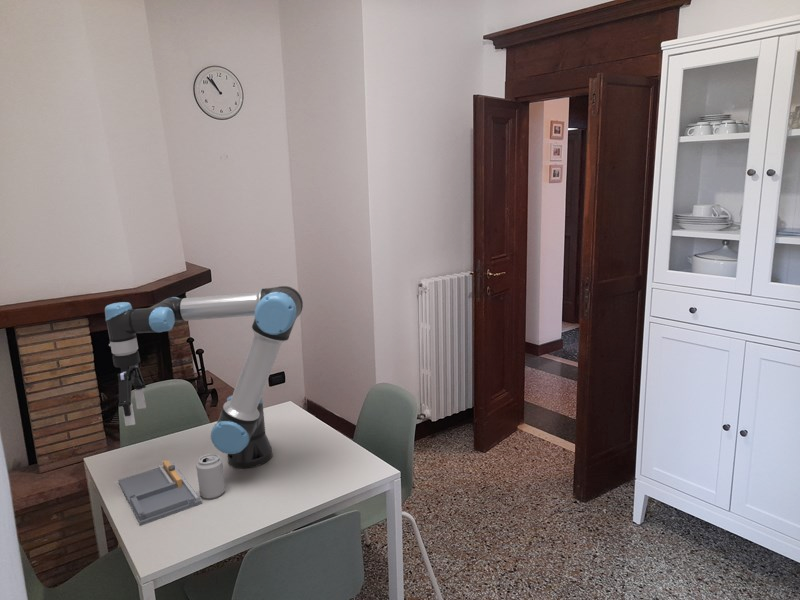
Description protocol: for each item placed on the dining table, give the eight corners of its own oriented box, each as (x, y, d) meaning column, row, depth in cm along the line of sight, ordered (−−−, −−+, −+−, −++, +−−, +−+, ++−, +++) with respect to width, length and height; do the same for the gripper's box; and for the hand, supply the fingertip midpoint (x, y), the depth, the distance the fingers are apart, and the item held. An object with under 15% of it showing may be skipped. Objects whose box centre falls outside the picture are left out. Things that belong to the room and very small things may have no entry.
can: (203, 488, 179) (199, 453, 177) (227, 486, 180) (223, 451, 177) (197, 501, 172) (192, 464, 169) (222, 499, 172) (218, 462, 170)
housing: (202, 503, 170) (201, 496, 170) (140, 525, 160) (139, 517, 160) (173, 465, 195) (172, 459, 194) (118, 482, 185) (117, 475, 184)
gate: (183, 485, 179) (182, 475, 178) (176, 487, 178) (175, 478, 177) (168, 465, 193) (167, 456, 192) (162, 467, 191) (161, 458, 191)
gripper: (123, 343, 188) (134, 403, 192) (99, 365, 164) (111, 434, 168) (147, 340, 189) (157, 400, 194) (127, 362, 165) (138, 430, 170)
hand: (136, 416), depth 181 cm, fingers open, 13 cm apart
